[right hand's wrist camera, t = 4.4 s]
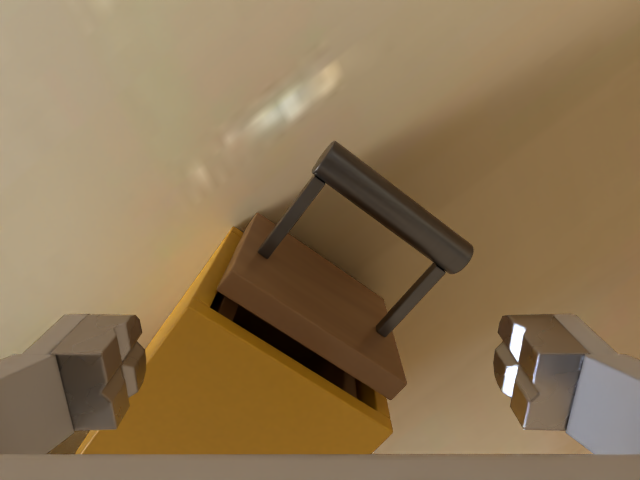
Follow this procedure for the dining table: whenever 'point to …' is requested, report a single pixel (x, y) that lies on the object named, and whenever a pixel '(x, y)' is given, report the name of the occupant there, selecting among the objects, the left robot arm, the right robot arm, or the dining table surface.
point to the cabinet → (235, 391)
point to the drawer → (334, 281)
